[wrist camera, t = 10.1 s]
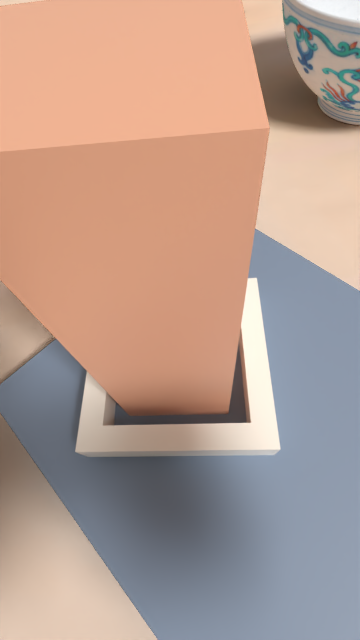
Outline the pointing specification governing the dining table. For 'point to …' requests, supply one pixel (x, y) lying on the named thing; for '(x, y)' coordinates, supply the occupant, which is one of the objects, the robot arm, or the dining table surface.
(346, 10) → the chinaware
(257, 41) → the dining table surface
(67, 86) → the terracotta pillar
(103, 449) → the snap socket
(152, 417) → the board
